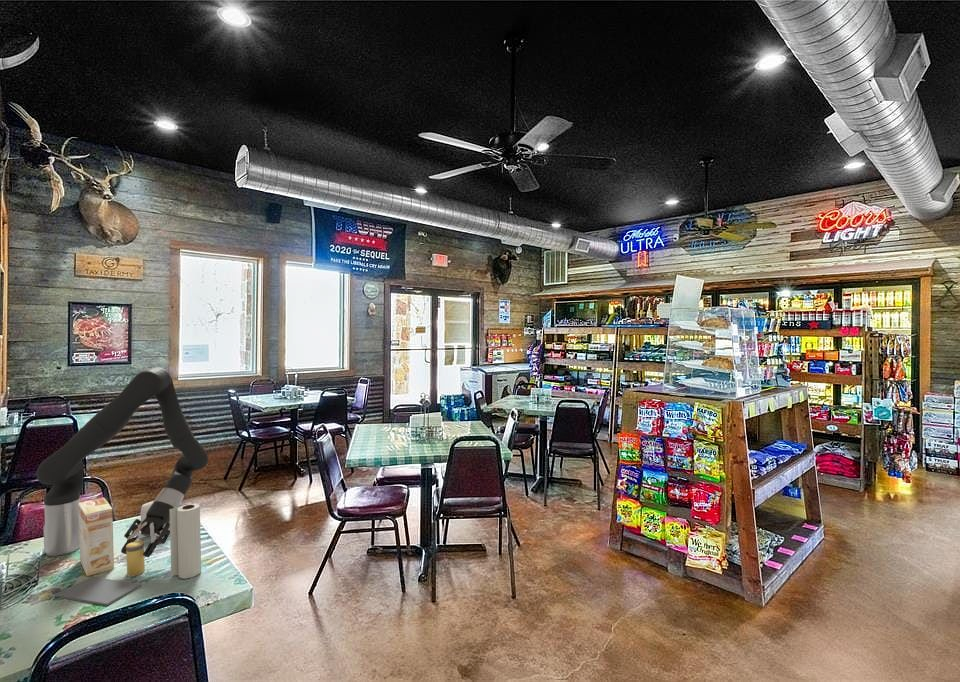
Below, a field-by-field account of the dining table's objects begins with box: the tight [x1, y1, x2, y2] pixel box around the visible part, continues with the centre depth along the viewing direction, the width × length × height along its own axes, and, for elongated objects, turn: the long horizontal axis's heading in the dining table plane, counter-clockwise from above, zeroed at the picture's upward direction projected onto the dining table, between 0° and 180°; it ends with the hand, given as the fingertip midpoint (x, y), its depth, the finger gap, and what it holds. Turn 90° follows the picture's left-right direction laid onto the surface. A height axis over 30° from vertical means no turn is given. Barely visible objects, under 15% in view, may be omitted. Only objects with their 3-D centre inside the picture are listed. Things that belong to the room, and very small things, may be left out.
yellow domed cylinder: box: [125, 540, 146, 577], centre depth 147 cm, size 5×5×9 cm
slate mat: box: [54, 575, 142, 607], centre depth 136 cm, size 19×10×1 cm, turn 77°
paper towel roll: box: [169, 503, 202, 580], centre depth 146 cm, size 7×6×21 cm
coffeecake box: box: [78, 497, 115, 577], centre depth 152 cm, size 15×7×20 cm, turn 47°
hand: (134, 554), depth 147 cm, fingers open, 8 cm apart
